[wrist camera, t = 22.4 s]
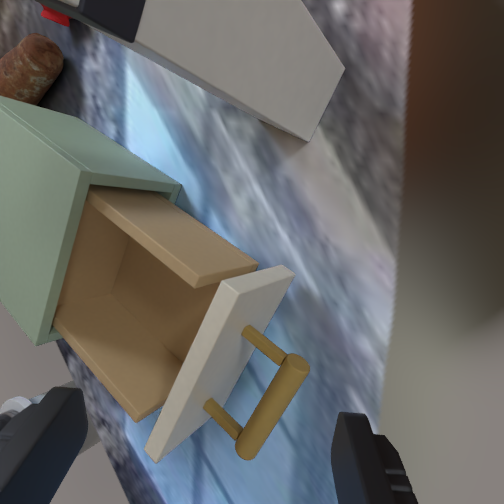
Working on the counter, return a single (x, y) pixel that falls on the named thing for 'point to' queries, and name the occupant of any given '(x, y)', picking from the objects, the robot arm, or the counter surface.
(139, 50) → the white tall square block
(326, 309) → the counter surface
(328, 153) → the counter surface
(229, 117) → the counter surface
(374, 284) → the counter surface
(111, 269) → the drawer
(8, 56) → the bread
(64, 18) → the candy bar
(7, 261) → the cabinet
